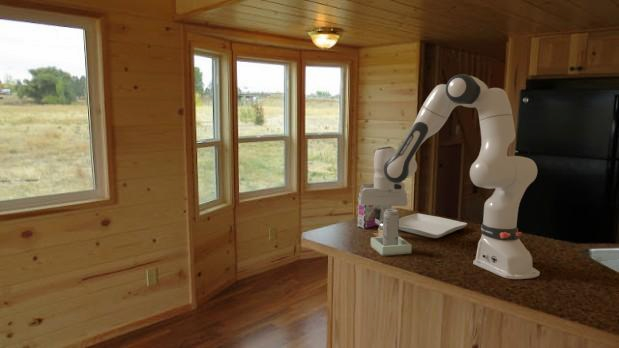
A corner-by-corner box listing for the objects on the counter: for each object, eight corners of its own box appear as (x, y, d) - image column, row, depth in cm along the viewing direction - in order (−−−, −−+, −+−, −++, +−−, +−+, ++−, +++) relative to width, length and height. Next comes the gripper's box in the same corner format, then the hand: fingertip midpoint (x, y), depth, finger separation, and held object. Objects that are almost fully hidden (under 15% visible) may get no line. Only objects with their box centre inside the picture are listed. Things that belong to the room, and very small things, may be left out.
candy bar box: (364, 229, 197) (365, 194, 194) (356, 227, 200) (357, 192, 198) (380, 225, 204) (381, 191, 201) (372, 222, 207) (373, 189, 205)
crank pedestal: (394, 243, 177) (394, 230, 176) (381, 244, 176) (381, 231, 175) (381, 233, 191) (381, 221, 190) (368, 234, 189) (368, 222, 188)
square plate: (468, 230, 197) (468, 222, 196) (437, 243, 178) (437, 234, 178) (417, 219, 216) (417, 211, 216) (384, 229, 198) (385, 221, 197)
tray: (411, 253, 165) (411, 244, 165) (382, 255, 162) (382, 247, 162) (397, 243, 177) (398, 235, 176) (370, 245, 174) (370, 237, 173)
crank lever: (393, 229, 177) (393, 215, 176) (382, 230, 176) (382, 216, 175) (381, 221, 189) (381, 208, 188) (370, 221, 188) (370, 209, 187)
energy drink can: (398, 249, 167) (400, 212, 165) (383, 249, 167) (384, 212, 165) (396, 244, 173) (398, 208, 170) (381, 244, 173) (382, 208, 171)
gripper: (359, 184, 183) (359, 216, 186) (407, 185, 179) (407, 217, 182) (360, 182, 190) (360, 212, 192) (407, 183, 186) (406, 214, 188)
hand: (383, 215), depth 187 cm, fingers closed
